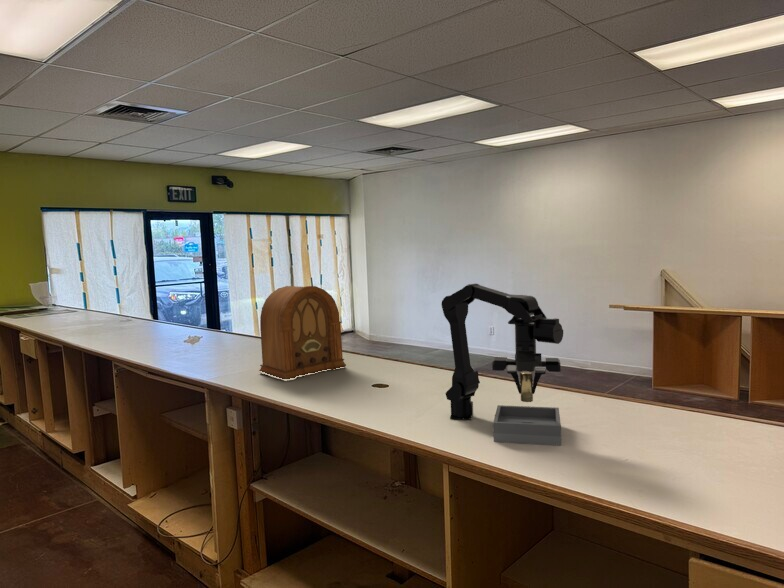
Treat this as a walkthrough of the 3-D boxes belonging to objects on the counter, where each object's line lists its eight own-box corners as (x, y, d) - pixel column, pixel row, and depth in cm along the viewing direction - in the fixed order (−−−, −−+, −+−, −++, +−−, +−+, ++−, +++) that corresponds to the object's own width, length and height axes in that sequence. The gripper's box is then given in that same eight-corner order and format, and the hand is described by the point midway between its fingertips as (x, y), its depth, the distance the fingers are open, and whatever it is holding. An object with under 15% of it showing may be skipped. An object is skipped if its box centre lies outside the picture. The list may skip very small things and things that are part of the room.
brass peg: (520, 401, 148) (519, 374, 148) (520, 398, 152) (520, 371, 151) (532, 402, 147) (532, 374, 147) (532, 398, 151) (532, 371, 150)
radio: (285, 382, 222) (279, 289, 219) (259, 374, 239) (253, 288, 236) (346, 367, 244) (341, 283, 241) (318, 361, 261) (313, 282, 258)
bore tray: (493, 441, 145) (493, 422, 145) (498, 422, 160) (497, 405, 160) (561, 445, 140) (560, 425, 140) (559, 425, 155) (558, 407, 155)
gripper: (490, 345, 143) (491, 400, 144) (561, 346, 138) (561, 403, 139) (493, 338, 153) (494, 389, 155) (559, 338, 148) (560, 391, 150)
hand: (526, 393), depth 149 cm, fingers closed on brass peg, 3 cm apart
